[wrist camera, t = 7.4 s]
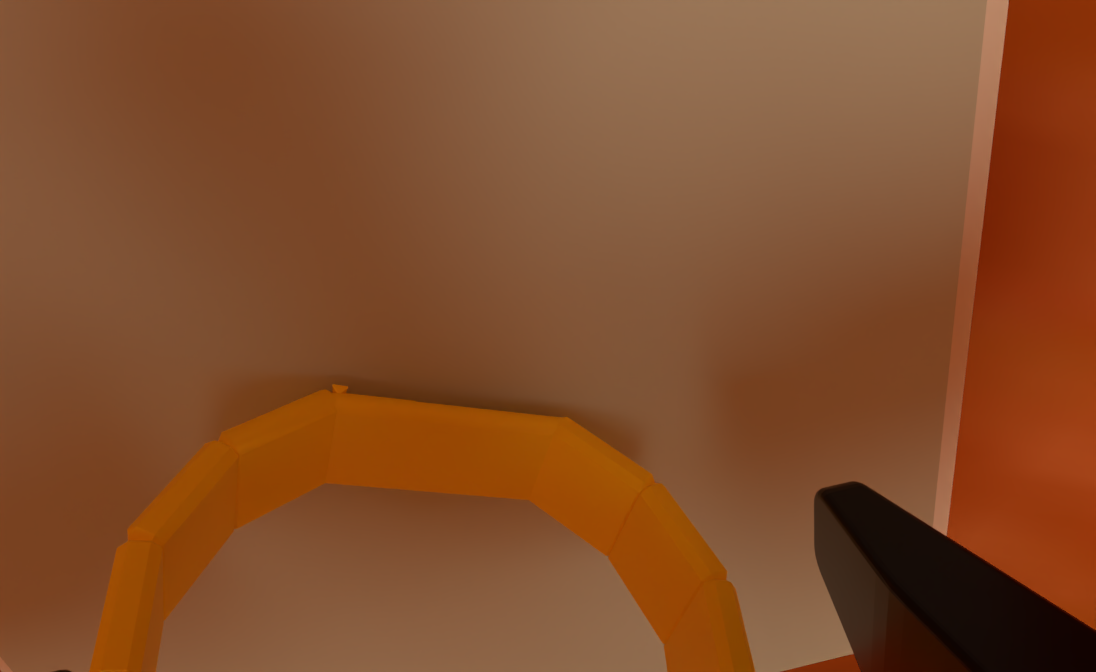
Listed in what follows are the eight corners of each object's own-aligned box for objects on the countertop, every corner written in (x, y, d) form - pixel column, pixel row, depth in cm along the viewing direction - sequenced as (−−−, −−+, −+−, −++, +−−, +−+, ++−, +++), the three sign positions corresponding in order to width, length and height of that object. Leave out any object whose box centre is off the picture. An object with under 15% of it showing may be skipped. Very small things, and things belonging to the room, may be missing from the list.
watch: (197, 472, 11) (-36, 1096, 6) (202, 301, 9) (-114, 976, 5) (648, 539, 12) (735, 1107, 7) (724, 396, 10) (898, 1013, 6)
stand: (844, 488, 18) (948, 648, 15) (179, 647, 18) (128, 849, 14) (863, -365, 10) (1090, -440, 7) (-325, -115, 10) (-694, -66, 6)
